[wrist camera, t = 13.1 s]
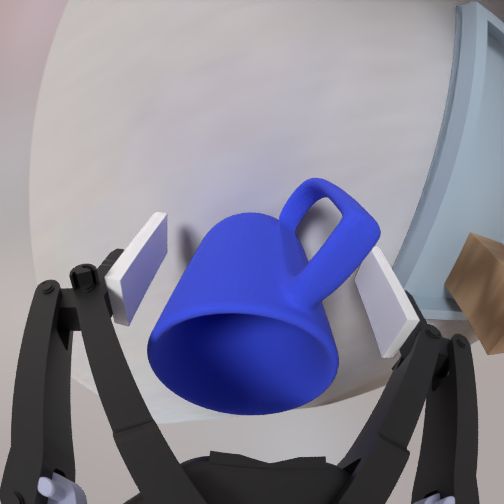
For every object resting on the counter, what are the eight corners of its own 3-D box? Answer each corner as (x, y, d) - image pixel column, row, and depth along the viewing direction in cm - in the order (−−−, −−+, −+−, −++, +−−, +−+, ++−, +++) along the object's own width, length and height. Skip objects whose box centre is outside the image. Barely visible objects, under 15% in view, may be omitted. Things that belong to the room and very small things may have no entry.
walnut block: (469, 231, 17) (529, 296, 10) (501, 243, 17) (553, 300, 10) (444, 283, 19) (487, 354, 12) (477, 288, 19) (518, 350, 13)
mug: (370, 193, 17) (450, 292, 8) (269, 312, 22) (267, 427, 14) (263, 118, 15) (258, 150, 6) (176, 266, 20) (129, 378, 12)
